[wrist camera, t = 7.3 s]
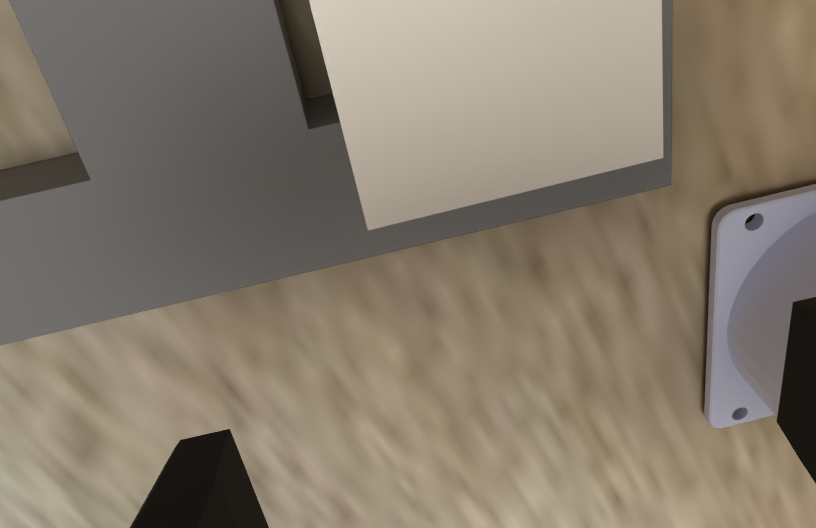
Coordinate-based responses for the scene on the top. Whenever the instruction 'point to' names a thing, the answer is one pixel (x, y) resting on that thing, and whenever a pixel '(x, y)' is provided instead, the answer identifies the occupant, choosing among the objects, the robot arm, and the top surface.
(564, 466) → the top surface
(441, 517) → the top surface
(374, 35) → the plug
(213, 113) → the socket plate
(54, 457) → the top surface
